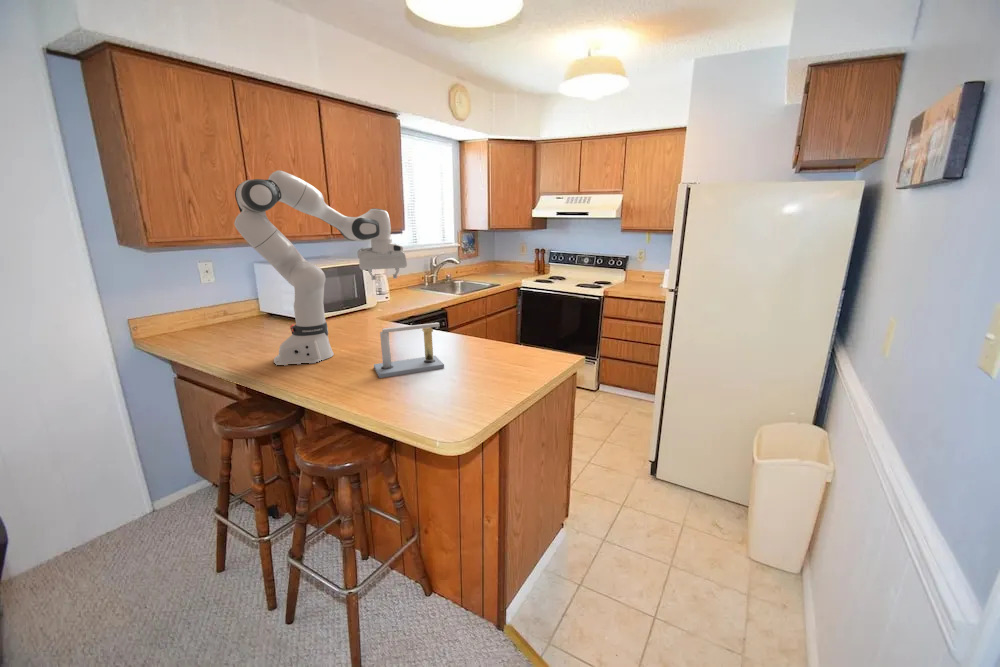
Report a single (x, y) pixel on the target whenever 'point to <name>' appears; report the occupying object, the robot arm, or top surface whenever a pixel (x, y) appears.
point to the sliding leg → (428, 343)
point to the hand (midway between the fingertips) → (384, 279)
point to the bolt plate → (403, 365)
